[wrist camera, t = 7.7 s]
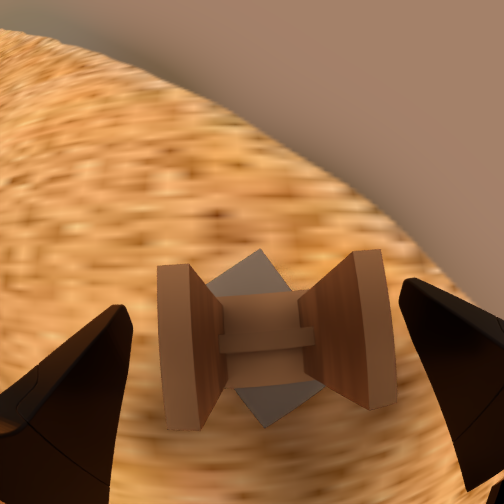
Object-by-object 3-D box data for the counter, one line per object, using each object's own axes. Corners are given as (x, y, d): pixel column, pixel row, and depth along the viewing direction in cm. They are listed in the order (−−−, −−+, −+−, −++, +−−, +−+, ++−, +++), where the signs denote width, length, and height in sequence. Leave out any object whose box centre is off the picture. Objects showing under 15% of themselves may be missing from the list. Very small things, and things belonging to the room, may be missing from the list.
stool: (314, 376, 15) (397, 419, 6) (216, 385, 15) (169, 447, 5) (306, 292, 17) (376, 230, 7) (210, 300, 16) (157, 246, 7)
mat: (345, 367, 16) (348, 368, 15) (264, 426, 15) (264, 428, 14) (260, 250, 18) (260, 248, 17) (178, 304, 17) (176, 304, 16)
